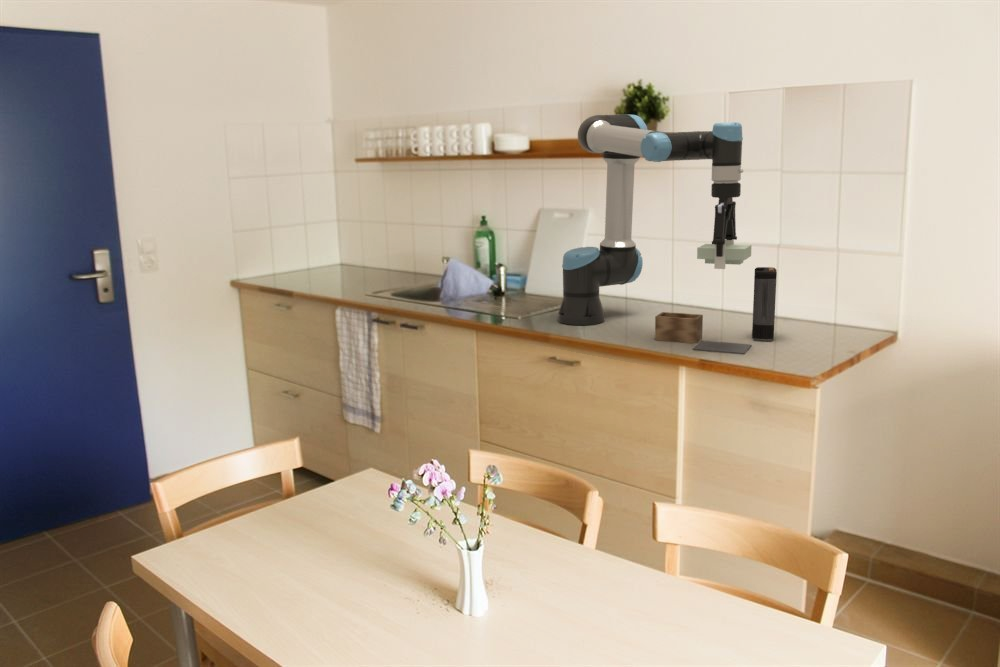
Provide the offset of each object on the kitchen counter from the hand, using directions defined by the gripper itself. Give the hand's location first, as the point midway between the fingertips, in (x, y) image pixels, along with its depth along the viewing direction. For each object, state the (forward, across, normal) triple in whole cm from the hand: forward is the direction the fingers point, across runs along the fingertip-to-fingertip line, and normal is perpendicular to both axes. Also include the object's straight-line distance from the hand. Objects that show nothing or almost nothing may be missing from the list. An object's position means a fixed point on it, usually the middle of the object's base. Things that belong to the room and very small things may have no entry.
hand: (723, 266), depth 230 cm
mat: (+23, 0, 0) cm, 23 cm away
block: (-2, 0, 0) cm, 2 cm away
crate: (+23, +6, +14) cm, 27 cm away
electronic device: (+23, +16, -8) cm, 29 cm away
